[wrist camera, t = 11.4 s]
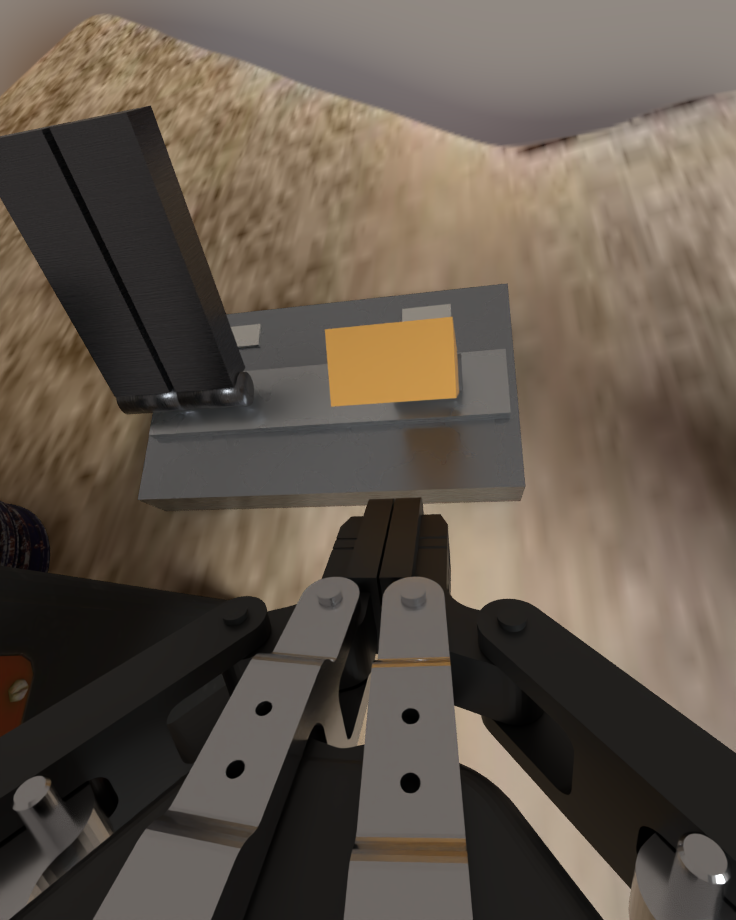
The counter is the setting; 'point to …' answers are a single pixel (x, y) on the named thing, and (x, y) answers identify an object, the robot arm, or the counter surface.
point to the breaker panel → (245, 346)
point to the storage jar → (22, 539)
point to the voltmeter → (80, 636)
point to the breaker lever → (393, 362)
